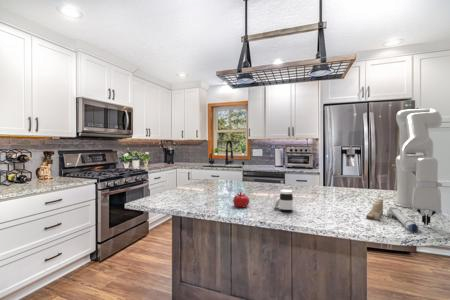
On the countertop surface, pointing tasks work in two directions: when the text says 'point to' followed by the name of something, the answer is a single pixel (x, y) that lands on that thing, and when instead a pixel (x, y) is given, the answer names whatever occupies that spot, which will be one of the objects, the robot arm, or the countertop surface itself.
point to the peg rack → (376, 210)
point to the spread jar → (284, 201)
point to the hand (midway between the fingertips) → (426, 224)
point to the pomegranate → (241, 200)
